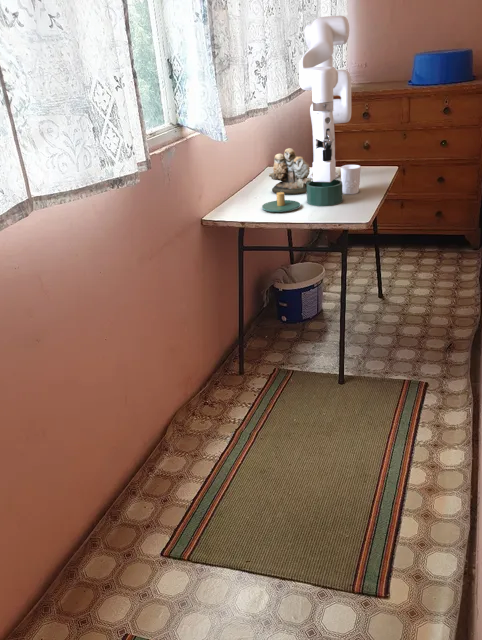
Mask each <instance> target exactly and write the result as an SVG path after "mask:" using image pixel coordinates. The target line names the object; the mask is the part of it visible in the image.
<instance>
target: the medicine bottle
mask: <svg viewBox="0 0 482 640" xmlns="http://www.w3.org/2000/svg"><path fill="white" fill-rule="evenodd" d="M323 150H324V149H323V147H318V148H317V149H316V159H317V160H316V161H315V162H314V161H312V163H311V164H312V165H311V166H312V174H313V179H312V181H313V182H331V181H333V180H334V179H337V178H336V172H337V171H336V170H337V167H336V158H335V159H332V149H331V161H323Z"/></svg>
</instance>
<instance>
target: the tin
mask: <svg viewBox="0 0 482 640" xmlns="http://www.w3.org/2000/svg"><path fill="white" fill-rule="evenodd" d="M306 185H307V192H306V203H307V204H308V205H310V206H314V207H330V206H331V207H332V206H335V205H338V204H341V203H342V202H343V197H344V196H343V194H344V193H342V181H341V179H337V178H335V179H334V180H333V181H331V182H313V180H311V181H310V182H308V183H307V184H306Z"/></svg>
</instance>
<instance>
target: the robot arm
mask: <svg viewBox="0 0 482 640" xmlns="http://www.w3.org/2000/svg"><path fill="white" fill-rule="evenodd" d="M349 37H350V22H349V20H348V18H347V17H346V16H345V15H329V16H320V17H317V18H315V19H314V20H313V21H312V22H310V23H308V24H307V25H306V26H305V27H304V40H305V44H306V46H307V50H306V51H305V52H304V54H302V57H301V58H300V61H299V64H298V83H299V87H300V88H301V89H302V90H303V91H311V95H312V96H311V97H312V103H311V104H310V108H309V116H310V122H311V129H312V153H313V154H312V155H313V161H312V162H315V161H316V160H317V159H316V149H317V148H318V147H323V149H324V150H323V161H331V149H332V159H335V160H336V136H335V125H337V124H346V123H349V122H350V121H351V118H352V77H351V74H350V72H349V71H348V70H346V69H336V67H334V63H333V61H334V59H333V54H334V46H341V45H342V46H343V45H346V44H347V42H348V40H349ZM334 96H338V97H340V98H334ZM309 176H310V177H309V178H310V179H311V180H313V173H311V174H309ZM337 178H339V172H337V171H336V178H335V179H337Z"/></svg>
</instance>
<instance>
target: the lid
mask: <svg viewBox="0 0 482 640" xmlns="http://www.w3.org/2000/svg"><path fill="white" fill-rule="evenodd" d="M285 196H286V195H284V192H282V191H281V192H278V193H277V194H276V200H272V201H269V202H266V203H264V204H262V205H261V209H262V210H263V211H265V212H270V213H287V212H291V211H294V210H297V209H299V208H300V207H301V203H300V202H299V201H297V200H290V199H286V198H285Z"/></svg>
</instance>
